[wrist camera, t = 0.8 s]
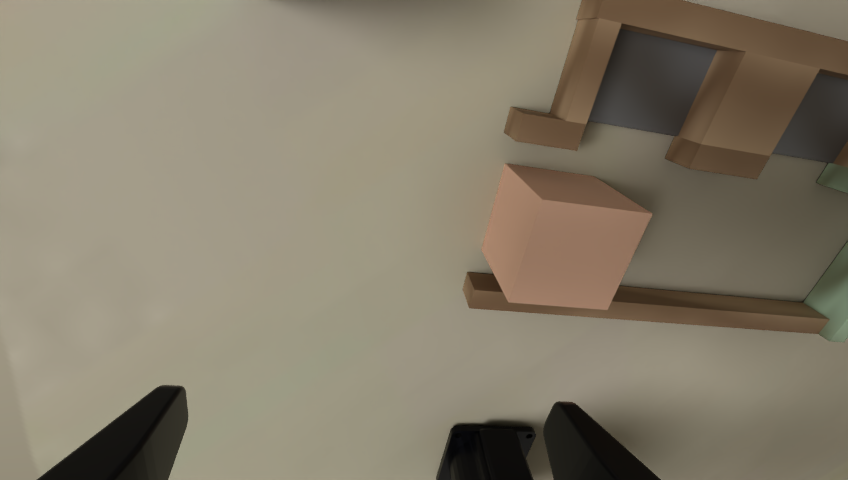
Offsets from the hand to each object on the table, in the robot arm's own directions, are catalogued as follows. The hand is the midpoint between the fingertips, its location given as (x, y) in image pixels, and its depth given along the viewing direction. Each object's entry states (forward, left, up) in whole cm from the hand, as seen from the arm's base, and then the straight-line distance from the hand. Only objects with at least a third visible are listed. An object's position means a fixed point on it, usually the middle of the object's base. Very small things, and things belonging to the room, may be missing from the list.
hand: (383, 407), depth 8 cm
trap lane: (+2, -18, -13) cm, 23 cm away
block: (0, -9, -13) cm, 16 cm away
